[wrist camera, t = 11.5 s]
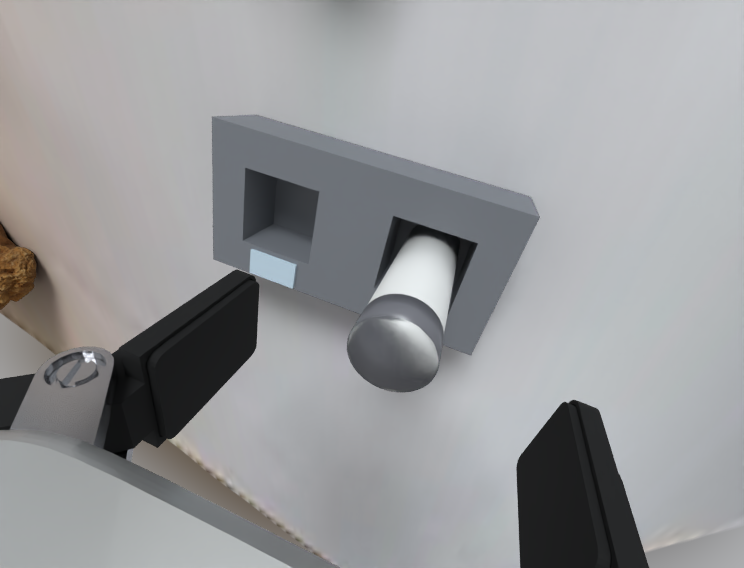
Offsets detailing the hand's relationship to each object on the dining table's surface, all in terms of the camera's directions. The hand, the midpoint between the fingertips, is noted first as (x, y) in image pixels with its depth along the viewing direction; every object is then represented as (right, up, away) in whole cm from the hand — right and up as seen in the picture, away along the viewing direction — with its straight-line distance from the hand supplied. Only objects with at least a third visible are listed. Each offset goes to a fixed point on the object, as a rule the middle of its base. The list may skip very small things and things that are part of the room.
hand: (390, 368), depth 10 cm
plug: (+3, +5, +11) cm, 12 cm away
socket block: (-1, +7, +12) cm, 14 cm away
